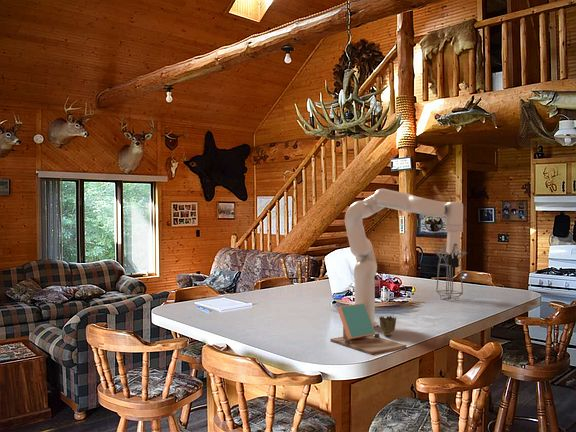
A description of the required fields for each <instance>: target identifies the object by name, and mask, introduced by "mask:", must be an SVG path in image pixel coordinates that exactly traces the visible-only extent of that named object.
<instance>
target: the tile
mask: <svg viewBox="0 0 576 432" xmlns="http://www.w3.org/2000/svg"><path fill="white" fill-rule="evenodd" d="M337 311H338V314H339V318H340V319H341V322H342V323H341V324H342V325H343V326H344V329H345V332H346V335H347V338H348V339H350V340H352V339H357V338H363V337H368V336H375V334H377V333H376V331H375V327H373V324H372V322H371V319H370V316H369V313H368V311H367V308H366V305H365V303H361V304H355V303H354V304H347V305H341V306H338V307H337ZM343 326H342V327H343Z"/></svg>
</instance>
